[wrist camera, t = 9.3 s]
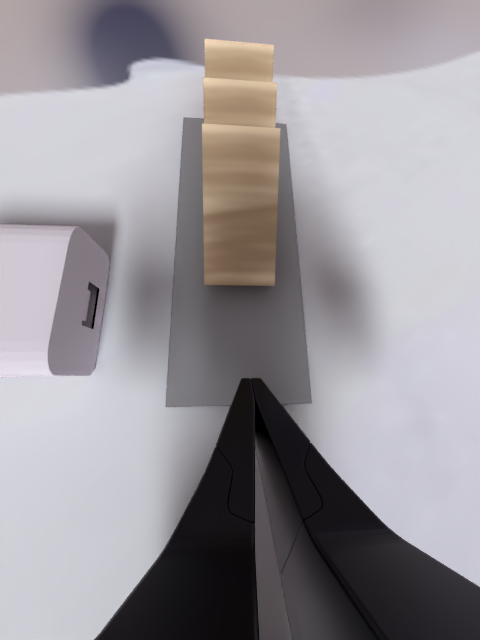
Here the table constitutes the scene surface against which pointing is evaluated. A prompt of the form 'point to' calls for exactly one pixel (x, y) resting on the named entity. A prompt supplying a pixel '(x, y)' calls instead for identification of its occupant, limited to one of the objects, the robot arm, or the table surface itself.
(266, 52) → the domino
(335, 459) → the table surface
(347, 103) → the table surface
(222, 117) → the domino
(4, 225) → the charger
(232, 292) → the domino mat
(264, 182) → the domino
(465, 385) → the table surface
